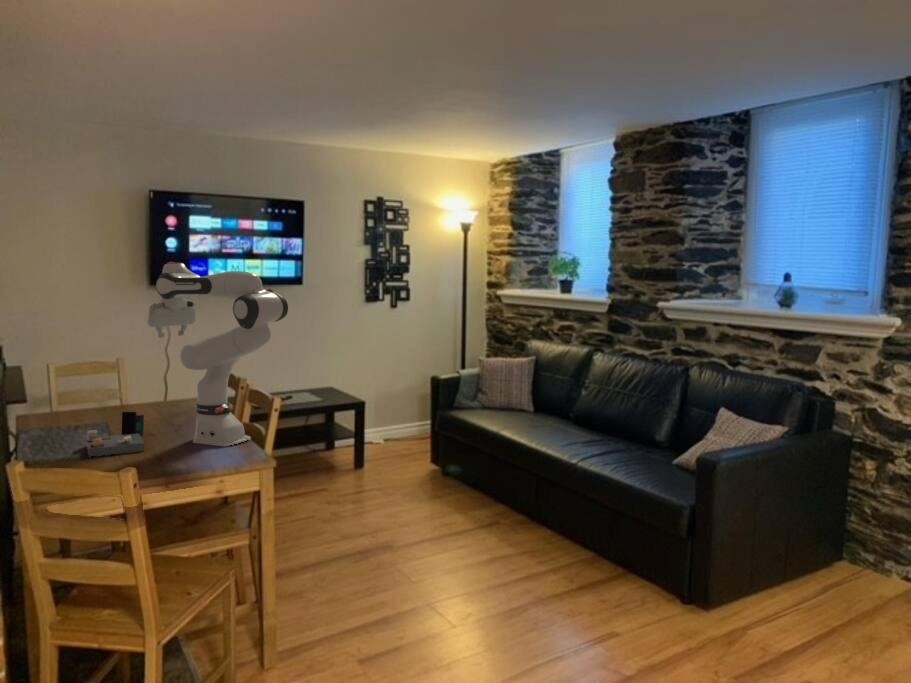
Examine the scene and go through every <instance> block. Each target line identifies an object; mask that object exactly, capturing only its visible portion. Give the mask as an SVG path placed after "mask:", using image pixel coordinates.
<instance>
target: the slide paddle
mask: <svg viewBox="0 0 911 683" xmlns="http://www.w3.org/2000/svg"><path fill="white" fill-rule="evenodd" d="M87 438H88V441H93V439H97V438H98V430H97V429H92V430H91V429H90V430H87Z"/></svg>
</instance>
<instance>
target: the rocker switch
mask: <svg viewBox="0 0 911 683" xmlns="http://www.w3.org/2000/svg"><path fill="white" fill-rule="evenodd" d="M130 440H132V438H131V435H130V436H126V437H122V438H118V442H119V443H122V442H124V443H126V442H127V441H130Z"/></svg>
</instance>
